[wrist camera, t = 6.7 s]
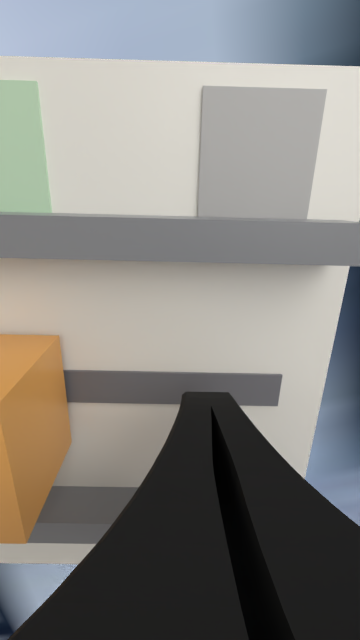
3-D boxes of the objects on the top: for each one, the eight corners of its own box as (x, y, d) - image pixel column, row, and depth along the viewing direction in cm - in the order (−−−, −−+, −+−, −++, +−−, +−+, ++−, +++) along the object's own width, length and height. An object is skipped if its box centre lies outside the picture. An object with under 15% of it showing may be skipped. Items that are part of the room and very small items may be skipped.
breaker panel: (270, 514, 16) (298, 608, 13) (-5, 510, 16) (-61, 603, 12) (341, 98, 10) (439, 37, 6) (-111, 85, 10) (-288, 15, 6)
